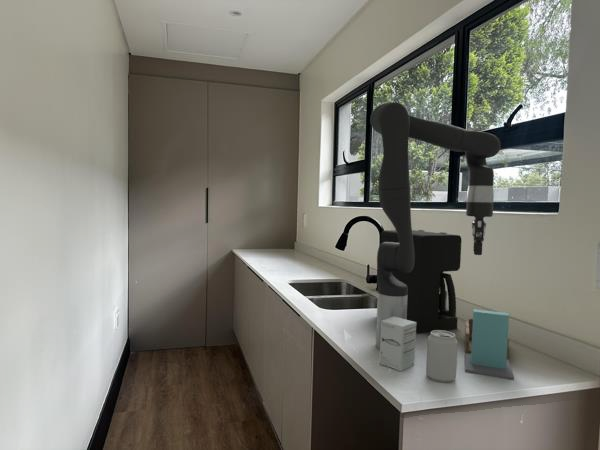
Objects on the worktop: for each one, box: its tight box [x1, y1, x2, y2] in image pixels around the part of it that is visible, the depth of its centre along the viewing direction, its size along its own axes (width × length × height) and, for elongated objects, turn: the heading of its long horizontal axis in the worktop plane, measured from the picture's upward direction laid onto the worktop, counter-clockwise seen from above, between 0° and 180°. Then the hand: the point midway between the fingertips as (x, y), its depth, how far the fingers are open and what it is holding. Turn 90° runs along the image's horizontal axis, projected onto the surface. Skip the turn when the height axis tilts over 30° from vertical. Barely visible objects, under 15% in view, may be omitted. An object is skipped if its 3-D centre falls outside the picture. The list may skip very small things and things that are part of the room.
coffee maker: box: [380, 229, 462, 335], centre depth 160 cm, size 28×20×35 cm
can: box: [425, 330, 459, 383], centre depth 110 cm, size 8×8×12 cm
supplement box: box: [378, 317, 417, 372], centre depth 118 cm, size 7×7×13 cm
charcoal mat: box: [464, 352, 515, 380], centre depth 119 cm, size 14×12×1 cm
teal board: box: [471, 308, 510, 369], centre depth 119 cm, size 3×9×15 cm, turn 69°
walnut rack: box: [464, 317, 510, 359], centre depth 135 cm, size 16×12×7 cm
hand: (477, 253), depth 130 cm, fingers open, 8 cm apart
